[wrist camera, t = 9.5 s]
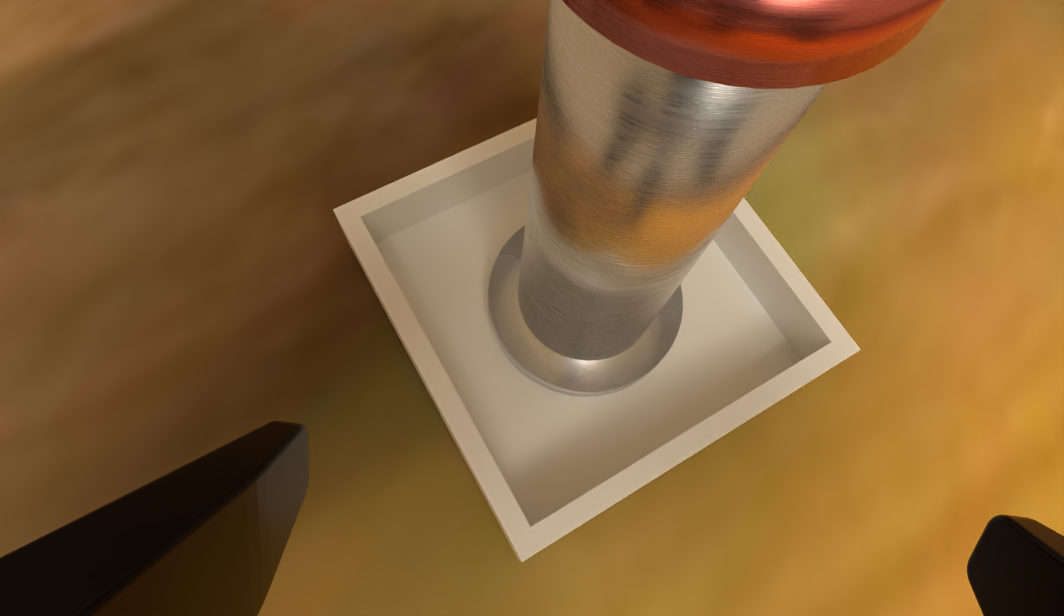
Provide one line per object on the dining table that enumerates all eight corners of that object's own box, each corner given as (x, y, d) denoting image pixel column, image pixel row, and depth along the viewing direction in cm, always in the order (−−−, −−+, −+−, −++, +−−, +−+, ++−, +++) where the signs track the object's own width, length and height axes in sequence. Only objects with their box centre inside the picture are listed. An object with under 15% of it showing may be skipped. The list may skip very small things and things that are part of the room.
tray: (818, 371, 21) (860, 349, 18) (517, 560, 18) (521, 561, 16) (630, 116, 24) (644, 69, 21) (350, 246, 21) (332, 209, 19)
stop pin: (684, 397, 19) (1146, 48, 6) (486, 395, 19) (477, 19, 5) (668, 222, 21) (980, -342, 8) (490, 217, 21) (490, -381, 7)
